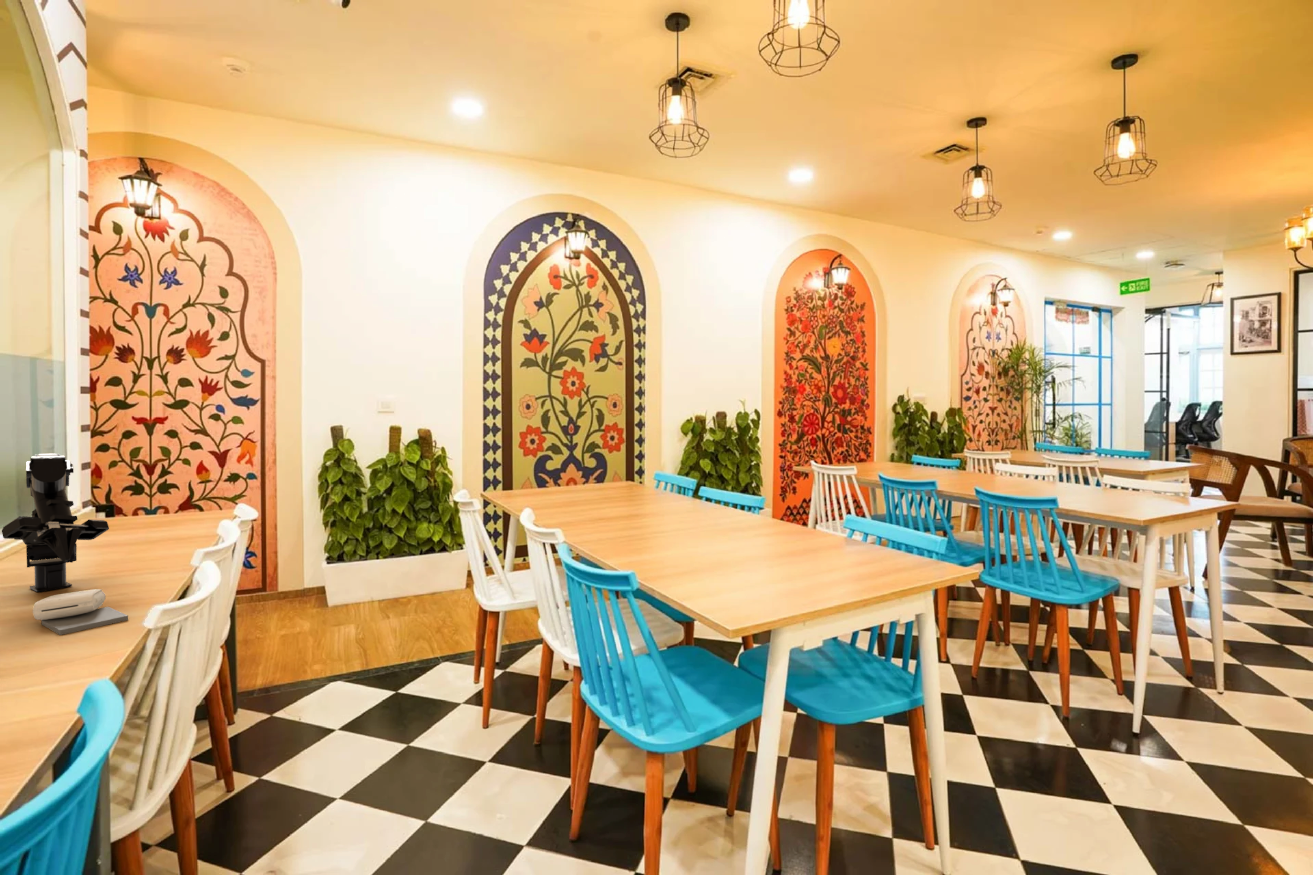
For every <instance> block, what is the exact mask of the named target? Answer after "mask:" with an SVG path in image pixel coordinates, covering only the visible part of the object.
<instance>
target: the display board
mask: <svg viewBox="0 0 1313 875" xmlns="http://www.w3.org/2000/svg"><path fill="white" fill-rule="evenodd" d="M126 620H127V621H129V615H128V614H125V613H123V612H121V611H119V610H117V609H115V608H112V607H111V606H105V607H99V608H97V609H95V610H94V611H91V612H87V613H83V614H79V615H74V616H68V617H61V618H54V619H46V620H41V625H42V626H43V627H45V628H46V629H48V628H49V630H50V631H51V632H53V633H56V634H57V635H59V636H61V635H62V636H63V635H67V634H72V633H76V632H80V631H86V630H90V629H94V628H99V627H103V626H107V625H111V624H112V623H113V624H116V623H117V624H118V623H121V622H120V621H122V622H127V621H126ZM89 628H90V629H89Z"/></svg>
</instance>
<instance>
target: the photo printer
mask: <svg viewBox="0 0 1313 875" xmlns="http://www.w3.org/2000/svg"><path fill="white" fill-rule="evenodd" d="M106 596H107V595H106V593H105V592H104V591H103V589H101V588H99V589H98V588H97V589H96V588H94V589H86V590H80V591H79V590H78V591H73V592H66V593H60V594H54V595H50V596H47V597H45V598H42V599H39V600H38V601H36V602H34V604H33V607H32V615H33V617H34V619H35V620H38V621H39V620H41V621H42V620H46V619H54V618H61V617H68V616H74V615H79V614H83V613H87V612H91V611H94V610H95V609H99V608H101V607H103V604H104V602H105V600H106Z"/></svg>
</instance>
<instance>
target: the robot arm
mask: <svg viewBox="0 0 1313 875" xmlns="http://www.w3.org/2000/svg"><path fill="white" fill-rule="evenodd" d="M71 462H72V461H70V459H66V456H65V455H61V453H57V452H55V453H54V452H53V453H52V452H51V453H46V452H45V453H37V454H34V456H31V457H30V460H28V461H26V462H25V464H26V466H25V474H26V475H25V478H26V479H25V480H26V482H25V483H26V489H30V494H29V495H30V496H31V497H32V498H33V502H34V507H35V509H34V510H32V511H31V516H28V515H27V516H24V515H23V516H22V515H19V516H18V517H16V518H15V519H13V520H11V521H10V522H9V523H7V524H5V525H4V526H3V527H2V530H1V533H2V534H1V535H2V538H3V539H5V540H6V539H10V540H12V539H14V540H15V541H19V540H22V542H23V543H24V544H25V545H26V548H25V551H26V552H25V553H26V568H31V567H33V569H34V585H30V586H29V589H30V590H33V591H34V592H36V593H41V592H46V591H52V590H57V589H63V588H69V587H73V584H72V583H70V582H67V564H68V563H74V562H77V549H78V547H77V545H78V544H77V541H92V540H95V539H96V538H98V537H99V536H101V535H102V534H104V533H106V532H107V531H109V530H110V526H109V523H108V521H107V520H104V519H87V520H85V521H84V522H83V523H81V524H77V523H75V522H76V521H78V516H77V515H72V510H71V508H72V506H74V501H73V500H68V495H67V492H66V491H67V489H66V488H67V487H69V486H70V476H71V474H74V464H72V463H71Z"/></svg>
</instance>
